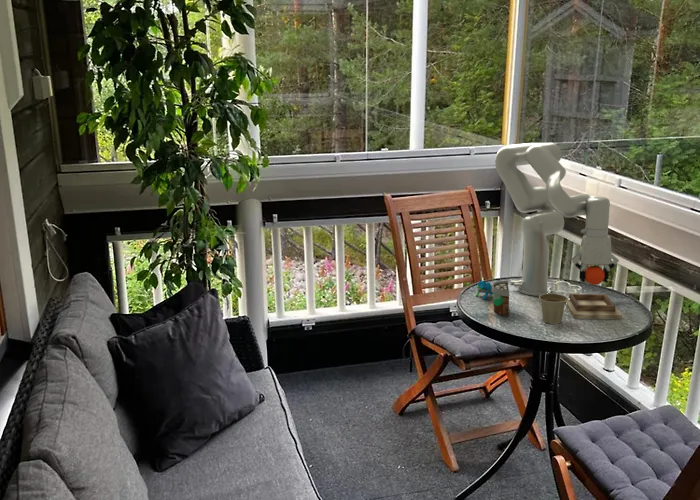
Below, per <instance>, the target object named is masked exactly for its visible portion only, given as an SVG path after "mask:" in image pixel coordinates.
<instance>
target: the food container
mask: <svg viewBox="0 0 700 500" xmlns="http://www.w3.org/2000/svg"><path fill="white" fill-rule="evenodd" d="M492 285H493V286H492ZM492 285H491V286H492V289H491V291H492V292H493V295H492V298H493V299H492V300H493V313H495V314H496V315H498V316H503V317H509V311H510V310H509V309H510V290H509V289H510V288H509V280H500V281H496V282H494V283H493V284H492Z"/></svg>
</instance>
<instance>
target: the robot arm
mask: <svg viewBox="0 0 700 500" xmlns="http://www.w3.org/2000/svg"><path fill="white" fill-rule="evenodd" d="M561 159H562V150H561V148H560V146H559V145H558V144H556V143H554V142H526V143H516V144H515V143H514V144H513V143H512V144H507V145H504V146H503V147H501V148H500V149H499V150H498V151H497V153H496V155H495V161H494V163H495V169H496V172H497V175H498V176H499V178H500V179H501V180H502V182H503V184H504V186H505V187H506V190H507V191H508V194H509V196H510V198H511V200H512V202H513V204H514V206H515V208H516V210H517V211H518V212H520V213H530V214H527V215H526V216H525V217H524V218H523V220H522V223H521V228H522V229H521V232H522V235H523V237H522V238H523V259H522V261H523V263H522V277H520V279H518V280H510V281H509V282H510V283H509V285H510V286H514V287H515V288H517V287H518V289H517V290H518V292H520V293H521V294H524V295H528V296H535V297H537V296H538V297H539V296H540V295H542V294H547V293H548V291H547V286H548V281H549V280H548V278H549V263H550V262H549V261H550V247H549V246H550V245H549V242H548V240H547V236H550V235H555V234H559V233H560V232H562V230H563V229H564V226H565V219H564V218H568V219H569V218H574V217H575V218H576V217H580V216H581V217H582V216H585V226H584V228H583V229H580V233H581V234H584V235H583V236H582V238H581V243H580V247H579V252H578V253H577V254H576V255H575V256H574V257H572V258H571V259H570V261H571V262H572V263H573V264H574V266H575V267H576V268H577V269H578V270H579V278H578V279H579V280H580V281H581V282H582V283H585V281H586V280H585V270H586V268H587V266H593V265H599V266H603V267H604V268H603V271H604V273H605V277H604V280H603V281H602V282H604V283H607V282H608V280H609V274H610V272H611V270H612V268H614V267H615V266H616V265H617V264H618V263H619V262H620V260H619V258H618V257H616V256H615V255H614V254H612V239H611V236H610V235H609V222H610V206H611V201H610V199H609V198H608V197H603V196H594V195H591V194H589V193H579V194H575V195H569V194H568V193H567V192H566V191H565V190H564V189H563V187H562V185H561V181H562V180H564V178H565V176H566V174H567V171H566V168H565V167H564V166H563V165H562V164H561V163H560V161H561ZM526 165H528V166H531V167H532V169H533V170H534V172H535V173H536V174H537V175H538V177H540V179H541V180H542V181H543V182H544V183H545V184H546V185H545V186H540V185H539V186H532V185H531V184H530V182H529V181H528V178H527V176H526V175H525V174H524V172H522V170H520V169H519V168H518V167H519V166H526ZM517 166H518V167H517ZM532 212H533V213H532ZM578 260H579V261H580V263H579V262H578Z"/></svg>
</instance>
